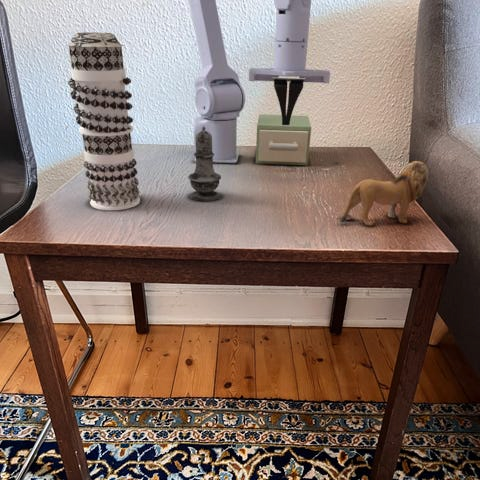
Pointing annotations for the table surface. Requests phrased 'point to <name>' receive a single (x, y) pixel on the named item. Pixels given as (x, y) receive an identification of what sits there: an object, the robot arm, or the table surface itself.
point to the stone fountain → (204, 169)
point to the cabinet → (276, 124)
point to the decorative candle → (104, 119)
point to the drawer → (283, 145)
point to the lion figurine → (389, 192)
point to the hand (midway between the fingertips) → (285, 124)
